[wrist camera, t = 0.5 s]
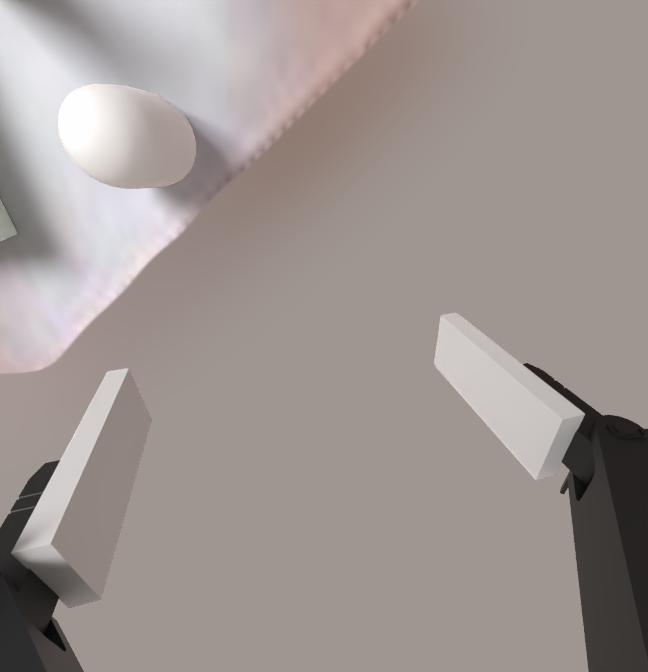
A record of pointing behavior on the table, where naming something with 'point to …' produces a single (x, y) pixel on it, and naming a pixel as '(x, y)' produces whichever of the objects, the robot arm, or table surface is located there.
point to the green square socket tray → (6, 224)
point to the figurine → (126, 136)
